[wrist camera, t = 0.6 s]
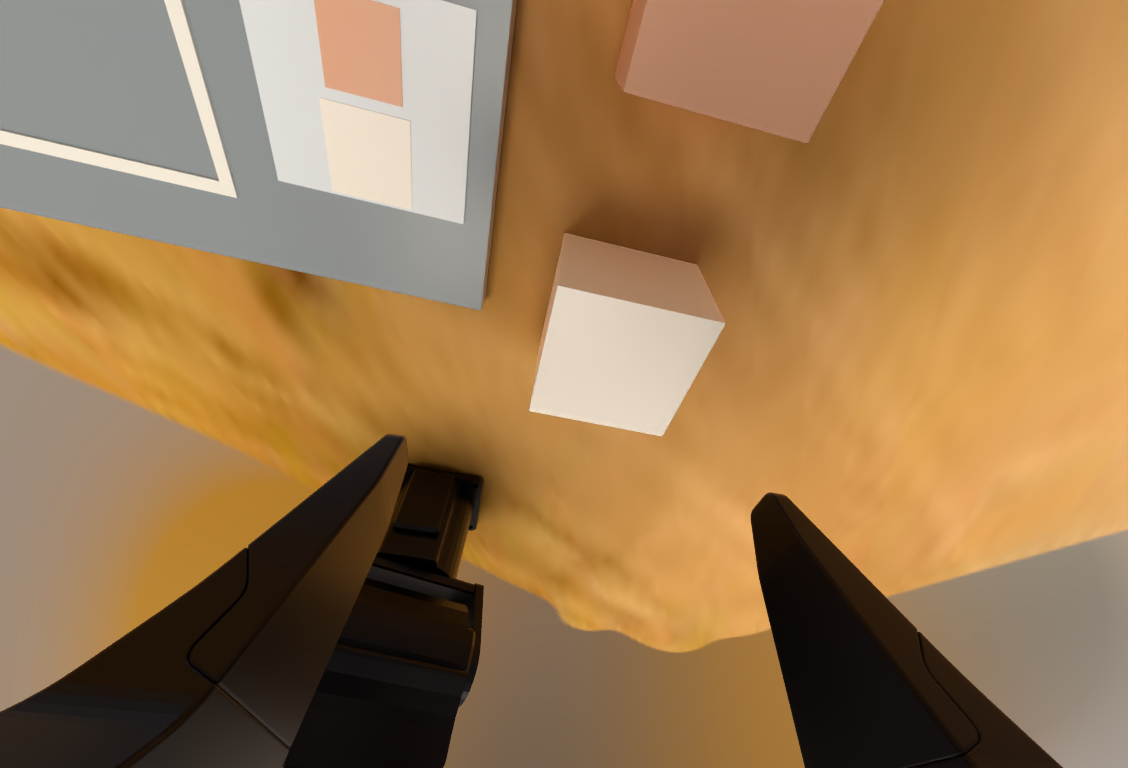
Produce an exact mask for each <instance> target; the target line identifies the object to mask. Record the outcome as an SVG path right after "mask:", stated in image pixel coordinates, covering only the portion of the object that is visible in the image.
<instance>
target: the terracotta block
mask: <svg viewBox="0 0 1128 768" xmlns="http://www.w3.org/2000/svg"><path fill="white" fill-rule="evenodd" d="M883 2H884V0H633V2H632V6H631V10H630V14H629V18H628V22H627V26H626V31H625V35H624V39H623V43H622V47H621V51H620V55H619V59H618V64H617V68H616V72H615V76H614V79H615V80H616V82H617V83H618V85H619V86H620V88H621V89H622V91H623V92H625V93H629V94H632V95H636V96H639V97H643V98H646V99H650V100H654V101H657V102H661V103H664V104H668V105H671V106H675V107H678V108H682V109H686V110H689V111H693V112H696V113H700V114H703V115H707V116H710V117H714V118H718V119H721V120H725V121H728V122H732V123H735V124H739V125H742V126H746V127H749V128H753V129H757V130H760V131H764V132H767V133H771V134H774V135H778V136H781V137H785V138H789V139H792V140H796V141H799V142H803V143H806V144H808V142H809V140H810V138H811V136H812V134H813V133H814V131H815V129H816V127H817V125H818V123H819V121H820V120H821V118H822V116H823V114H824V112H825V110H826V108H827V106H828V105H829V103H830V101H831V99H832V97H833V95H834V93H835V92H836V90H837V88H838V86H839V84H840V82H841V80H842V78H843V77H844V75H845V73H846V71H847V69H848V67H849V65H850V63H851V62H852V60H853V58H854V56H855V54H856V52H857V50H858V49H859V47H860V45H861V43H862V41H863V39H864V37H865V35H866V34H867V32H868V30H869V28H870V26H871V24H872V22H873V21H874V19H875V17H876V15H877V13H878V11H879V9H880V7H881V6H882V4H883Z"/></svg>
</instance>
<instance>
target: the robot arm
mask: <svg viewBox="0 0 1128 768" xmlns="http://www.w3.org/2000/svg"><path fill="white" fill-rule="evenodd" d="M482 489H483V480H482V479H481V478H479V477H474V476H468V475H463V474H457V473H451V472H445V471H439V470H433V469H428V468H422V467H416V466H410V465H408V450H407V440H406V438H405V437H404V436H400V435H393V434H388V435H386V436H384V437H383V438H382V439H380V440H379V441H378V442H377V443H375V444H374V445H373V446H372V447H370V448H369V449H368V450H367V451H365V452H364V453H363V454H362V455H360V456H359V457H358V458H357V459H355V460H354V461H353V462H352V463H350V464H349V465H348V466H347V467H345V468H344V469H343V470H342V471H340V472H339V473H338V474H337V475H335V476H334V477H333V478H332V479H330V480H329V481H328V482H327V483H325V484H324V485H323V486H322V487H320V488H319V489H318V490H317V491H315V492H314V493H313V494H312V495H310V496H309V497H308V498H307V499H306V500H304V501H303V502H302V503H300V504H299V505H298V506H297V507H295V508H294V509H293V510H292V511H290V512H289V513H288V514H287V515H285V516H284V517H283V518H282V519H281V520H279V521H278V522H277V523H275V524H274V525H273V526H272V527H270V528H269V529H268V530H267V531H265V532H264V533H263V534H262V535H260V536H259V537H258V538H257V539H255V540H254V541H253V542H252V543H250V544H249V546H248V548H244V549H243V550H242V551H240V552H239V553H238V554H236V555H235V556H234V557H233V558H231V559H230V560H229V561H228V562H226V563H225V564H224V565H222V566H221V567H220V568H219V569H217V570H216V571H215V572H213V573H212V574H211V575H209V576H208V577H207V578H206V579H204V580H203V581H202V582H200V583H199V584H198V585H196V586H195V587H194V588H192V589H191V590H189V591H188V592H187V593H185V594H184V595H183V596H181V597H179V598H178V599H177V600H175V601H174V602H172V603H171V604H170V605H168V606H167V607H165V608H164V609H163V610H161V611H160V612H158V613H157V614H155V615H154V616H152V617H151V618H149V619H148V620H147V621H145V622H144V623H142V624H141V625H140V626H138V627H136V628H135V629H133V630H132V631H131V632H129V633H128V634H126V635H125V636H123V637H122V638H120V639H119V640H117V641H116V642H114V643H113V644H112V645H110V646H109V647H107V648H106V649H104V650H103V651H101V652H100V653H99V654H97V655H95V656H94V657H93V658H91V659H90V660H88V661H87V662H85V663H84V664H83V665H81V666H79V667H78V668H77V669H75V670H74V671H72V672H71V673H69V674H67V675H66V676H64V677H63V678H61V679H60V680H58V681H57V682H55V683H53V684H52V685H50V686H48V687H47V688H45V689H43V690H42V691H40V692H38V693H36V694H34V695H32V696H31V697H29V698H27V699H25V700H24V701H21V702H19V703H17V704H15V705H13V706H11V707H9V708H7V709H5V710H3V711H1V712H0V768H443V767H444V765H445V762H446V758H447V753H448V748H449V744H450V739H451V734H452V730H453V726H454V721H455V717H456V714H457V710H458V707H460V706H461V705H462V704H463V702H464V701H465V699H466V697H467V695H468V693H469V691H470V688H471V686H472V683H473V680H474V677H475V674H476V670H477V666H478V661H479V655H480V645H481V627H482V608H483V589H484V586H483V585H480V584H471V583H467V582H464V581H461V580H457V579H456V577H457V573H458V569H459V565H460V561H461V557H462V553H463V549H464V545H465V541H466V537H467V533H468V530H475V529H476V526H477V521H478V515H479V508H480V502H481V495H482ZM751 525H752V532H753V539H754V547H755V554H756V561H757V569H758V574H759V580H760V584H761V589H762V593H763V597H764V601H765V605H766V609H767V613H768V617H769V622H770V626H771V630H772V634H773V638H774V642H775V646H776V650H777V654H778V659H779V662H780V666H781V671H782V675H783V679H784V683H785V687H786V691H787V695H788V700H789V704H790V708H791V712H792V716H793V720H794V724H795V728H796V733H797V737H798V740H799V745H800V749H801V753H802V757H803V761H804V765H805V768H1063V767H1062V766H1061V765H1059V764H1058V763H1057V762H1056V761H1055V760H1054V759H1053V758H1052V757H1051V756H1050V755H1049V754H1047V753H1046V752H1045V751H1044V750H1043V749H1042V748H1041V747H1040V746H1039V745H1038V744H1036V742H1034V741H1033V740H1032V739H1031V738H1030V737H1029V736H1028V735H1027V734H1026V733H1025V732H1024V731H1023V730H1021V729H1020V728H1019V727H1018V726H1017V725H1016V724H1015V723H1014V722H1013V721H1012V720H1011V719H1010V718H1008V717H1007V716H1006V715H1005V714H1004V713H1003V712H1002V711H1001V710H1000V709H999V708H997V706H995V705H994V704H993V703H992V702H991V701H990V700H989V699H988V698H987V697H986V696H985V695H984V694H983V693H982V692H980V691H979V690H978V689H977V688H976V687H975V686H974V685H973V684H972V683H971V682H970V681H969V680H968V679H967V678H966V677H965V676H964V675H962V674H961V673H960V672H959V671H958V670H957V669H956V668H955V667H954V666H953V665H952V664H951V663H950V662H949V661H948V660H947V659H946V658H945V657H944V656H943V655H942V654H941V653H940V652H939V651H938V650H937V649H936V648H935V647H934V646H933V645H932V644H931V643H930V642H929V641H928V640H927V639H926V638H925V637H924V636H923V635H922V633H920V632H917V629H916V628H915V626H913V624H912V623H911V622H910V621H908V619H907V618H906V617H905V616H904V615H903V614H902V613H901V612H900V611H899V610H898V609H897V608H896V607H895V606H894V605H893V604H892V603H891V602H890V601H889V600H888V599H887V598H886V597H885V596H884V595H883V594H882V593H881V592H880V591H879V590H878V589H877V588H876V587H875V586H874V585H873V584H872V583H871V582H870V581H869V580H868V579H867V578H866V577H865V576H864V575H863V574H862V573H861V572H860V570H859V569H858V568H857V567H856V566H855V565H854V564H853V563H852V562H851V561H850V560H849V559H848V558H847V557H846V556H845V555H844V554H843V553H842V552H841V551H840V550H839V549H838V548H837V547H836V546H835V545H834V544H833V543H832V542H831V541H830V540H829V539H828V538H827V537H826V536H825V535H824V534H823V533H822V532H821V531H820V530H819V529H818V528H817V527H816V526H815V525H814V524H813V523H812V522H811V521H810V520H809V519H808V518H807V517H806V516H805V514H804V513H803V512H802V511H801V510H800V509H799V508H798V507H797V506H796V505H795V504H794V503H793V502H792V501H791V500H790V499H789V498H788V497H787V496H785V495H783V494H777V493H767V494H766V495H764V497H763V498H762V499H761V500H760V501H759V503H758V504H757V505H756V506H755V507H754V509H753V510H752V512H751Z"/></svg>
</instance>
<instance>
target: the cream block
mask: <svg viewBox="0 0 1128 768" xmlns="http://www.w3.org/2000/svg"><path fill="white" fill-rule="evenodd" d="M725 324H726V323H725V321H724V319H723V317H722V314H721V312H720V310H719V308H718V306H717V304H716V302H715V300H714V298H713V296H712V294H711V292H710V290H709V287H708V285H707V283H706V281H705V279H704V277H703V275H702V273H701V271H700V269H699V267H698V265H697V264H693V263H689V262H685V261H681V260H676V259H672V258H668V257H664V256H660V255H656V254H651V253H647V252H643V251H639V250H635V249H631V248H626V247H622V246H618V245H614V244H610V243H606V242H601V241H597V240H593V239H589V238H585V237H581V236H576V235H572V234H568V233H564V237H563V242H562V246H561V251H560V255H559V260H558V264H557V269H556V273H555V278H554V282H553V287H552V291H551V296H550V300H549V305H548V309H547V314H546V318H545V323H544V327H543V332H542V336H541V341H540V345H539V351H538V358H537V364H536V370H535V376H534V382H533V388H532V394H531V400H530V407H529V411H532V412H537V413H542V414H547V415H553V416H558V417H563V418H568V419H573V420H579V421H584V422H589V423H594V424H600V425H605V426H610V427H615V428H621V429H626V430H631V431H636V432H641V433H647V434H652V435H657V436H663V434H664V432H665V431H666V429H667V427H668V425H669V423H670V422H671V420H672V418H673V416H674V415H675V413H676V411H677V409H678V407H679V406H680V404H681V402H682V400H683V399H684V397H685V395H686V393H687V391H688V390H689V388H690V386H691V384H692V383H693V381H694V379H695V377H696V375H697V374H698V372H699V370H700V368H701V367H702V365H703V363H704V361H705V359H706V358H707V356H708V354H709V352H710V351H711V349H712V347H713V345H714V343H715V342H716V340H717V338H718V336H719V335H720V333H721V331H722V329H723V327H724V326H725Z"/></svg>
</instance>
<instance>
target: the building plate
mask: <svg viewBox="0 0 1128 768" xmlns="http://www.w3.org/2000/svg"><path fill="white" fill-rule="evenodd" d="M516 8H517V0H0V207H1V208H6V209H11V210H15V211H20V212H25V213H29V214H34V215H39V216H43V217H48V218H52V219H57V220H62V221H66V222H71V223H76V224H80V225H85V226H90V227H94V228H99V229H104V230H108V231H113V232H118V233H122V234H127V235H132V236H136V237H141V238H146V239H150V240H155V241H160V242H164V243H169V244H174V245H178V246H183V247H188V248H192V249H197V250H202V251H206V252H211V253H215V254H220V255H225V256H229V257H234V258H239V259H243V260H248V261H253V262H257V263H262V264H267V265H271V266H276V267H281V268H285V269H290V270H295V271H299V272H304V273H309V274H313V275H318V276H323V277H327V278H332V279H337V280H341V281H346V282H351V283H355V284H360V285H364V286H369V287H374V288H378V289H383V290H388V291H392V292H397V293H402V294H406V295H411V296H416V297H420V298H425V299H430V300H434V301H439V302H444V303H448V304H453V305H458V306H462V307H467V308H472V309H476V310H481V309H482V307H483V304H484V302H485V297H486V288H487V279H488V269H489V260H490V251H491V241H492V232H493V223H494V213H495V204H496V195H497V185H498V176H499V167H500V157H501V148H502V139H503V129H504V120H505V111H506V101H507V92H508V83H509V73H510V64H511V54H512V45H513V36H514V26H515V17H516Z"/></svg>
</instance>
